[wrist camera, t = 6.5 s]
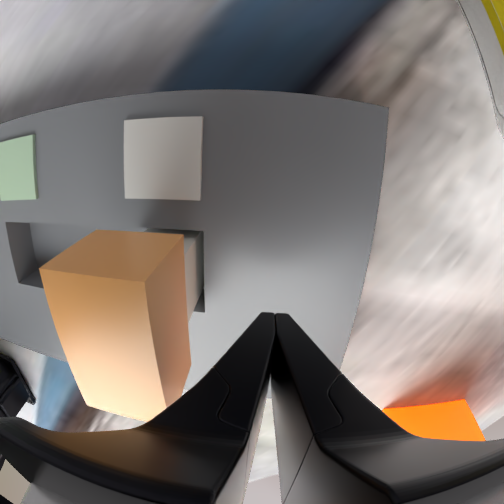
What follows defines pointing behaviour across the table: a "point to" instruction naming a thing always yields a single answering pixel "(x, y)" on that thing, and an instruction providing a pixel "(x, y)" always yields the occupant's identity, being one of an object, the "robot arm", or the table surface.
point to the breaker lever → (127, 315)
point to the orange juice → (438, 421)
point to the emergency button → (489, 46)
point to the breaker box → (201, 205)
